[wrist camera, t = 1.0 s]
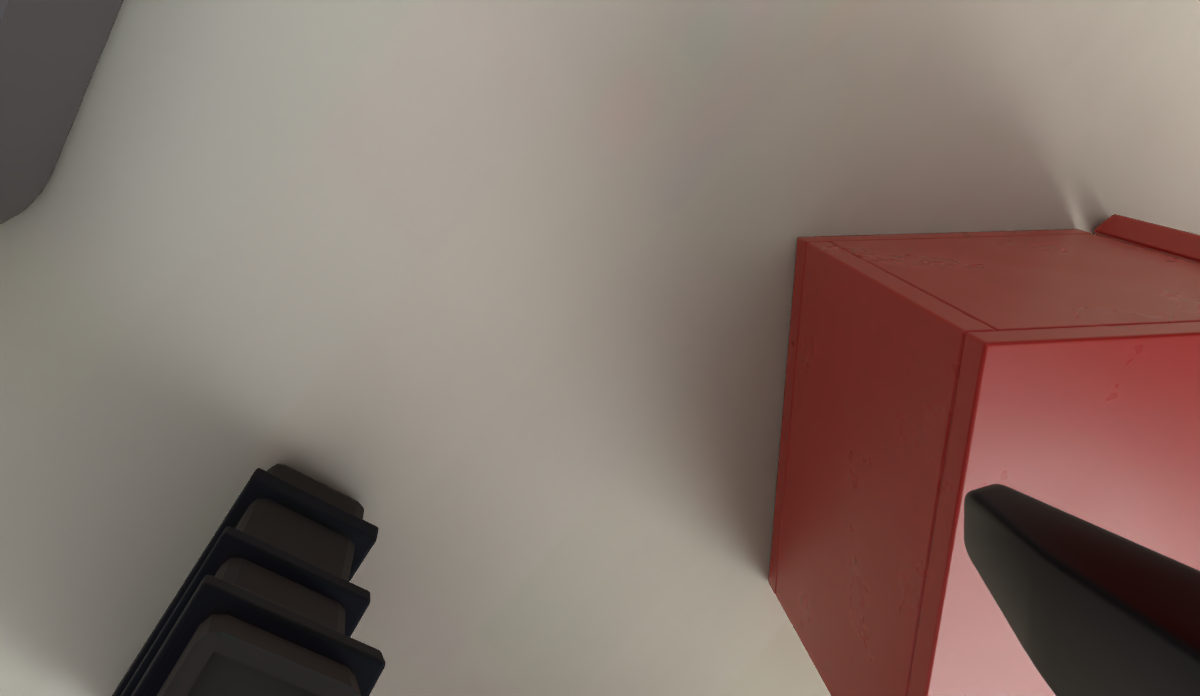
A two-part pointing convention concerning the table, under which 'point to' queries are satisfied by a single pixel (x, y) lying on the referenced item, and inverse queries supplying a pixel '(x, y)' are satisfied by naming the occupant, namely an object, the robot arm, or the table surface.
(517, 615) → the table surface
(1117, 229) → the door
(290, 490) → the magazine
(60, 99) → the streaming box
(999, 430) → the valve cabinet
